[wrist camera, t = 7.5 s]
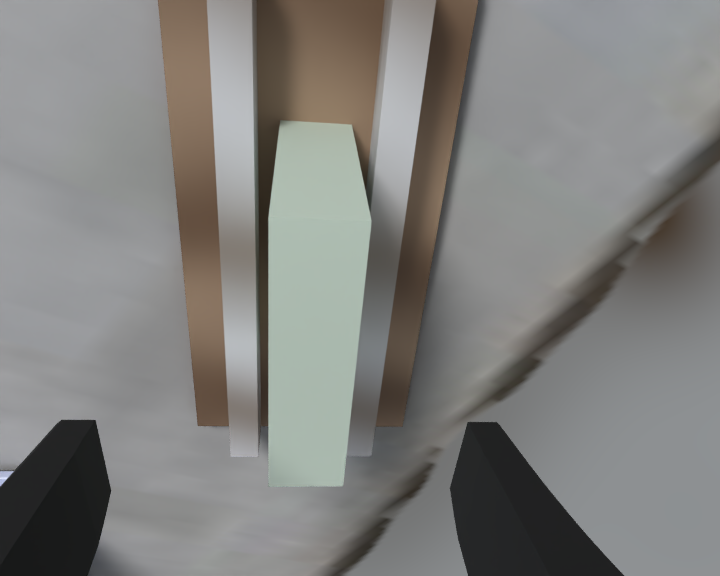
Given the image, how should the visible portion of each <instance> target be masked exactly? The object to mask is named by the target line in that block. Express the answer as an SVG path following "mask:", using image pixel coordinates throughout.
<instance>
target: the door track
mask: <svg viewBox="0 0 720 576" xmlns="http://www.w3.org/2000/svg"><path fill="white" fill-rule="evenodd" d="M477 5H478V0H158V6H159V16H160V27H161V38H162V48H163V59H164V70H165V80H166V91H167V102H168V112H169V123H170V134H171V144H172V155H173V166H174V176H175V187H176V198H177V208H178V219H179V230H180V240H181V251H182V262H183V272H184V283H185V294H186V304H187V315H188V326H189V337H190V347H191V358H192V369H193V379H194V390H195V401H196V411H197V422H198V426H229V435H230V454H231V457H258V454H259V443H260V431H261V426H268V217H269V208H270V200H271V192H272V184H273V176H274V167H275V159H276V151H277V143H278V134H279V126H280V120H285V121H302V122H318V123H334V124H350V125H352V128H353V133H354V138H355V143H356V148H357V152H358V157H359V162H360V167H361V172H362V177H363V182H364V186H365V191H366V196H367V201H368V206H369V211H370V216H371V221H372V223H371V232H370V241H369V250H368V260H367V269H366V278H365V287H364V297H363V306H362V315H361V324H360V334H359V343H358V352H357V362H356V371H355V380H354V389H353V399H352V408H351V417H350V426H349V436H348V445H347V454H346V456H371V455H372V448H373V441H374V434H375V427H402V426H403V421H404V415H405V409H406V404H407V398H408V393H409V387H410V381H411V376H412V370H413V364H414V359H415V353H416V348H417V342H418V336H419V331H420V325H421V319H422V314H423V308H424V303H425V297H426V291H427V286H428V280H429V275H430V269H431V263H432V258H433V252H434V246H435V241H436V235H437V230H438V224H439V218H440V213H441V207H442V201H443V196H444V190H445V185H446V179H447V173H448V168H449V162H450V157H451V151H452V145H453V140H454V134H455V128H456V123H457V117H458V112H459V106H460V100H461V95H462V89H463V83H464V78H465V72H466V67H467V61H468V55H469V50H470V44H471V38H472V33H473V27H474V22H475V16H476V10H477Z"/></svg>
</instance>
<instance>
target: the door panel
mask: <svg viewBox="0 0 720 576" xmlns="http://www.w3.org/2000/svg"><path fill="white" fill-rule="evenodd" d="M371 223H372V221H371V216H370V211H369V206H368V201H367V196H366V191H365V186H364V182H363V177H362V172H361V167H360V162H359V157H358V152H357V148H356V143H355V138H354V133H353V128H352V125H350V124H334V123H318V122H302V121H285V120H280V126H279V134H278V143H277V151H276V159H275V167H274V176H273V184H272V192H271V200H270V208H269V217H268V487H307V486H343V482H344V473H345V463H346V454H347V445H348V436H349V426H350V417H351V408H352V399H353V389H354V380H355V371H356V362H357V352H358V343H359V334H360V324H361V315H362V306H363V297H364V287H365V278H366V269H367V260H368V250H369V241H370V232H371Z"/></svg>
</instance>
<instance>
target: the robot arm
mask: <svg viewBox="0 0 720 576" xmlns="http://www.w3.org/2000/svg"><path fill="white" fill-rule="evenodd" d="M450 491H451V497H452V504H453V511H454V517H455V523H456V529H457V535H458V540H459V544H460V547H461V551H462V555H463V558H464V562H465V566H466V569H467V573H468V576H624V575H623V574H622V573H621V572H620V571H619V570H618V569H617V568H616V567H615V565H614V564H613V563H611V561H610V560H609V559H608V558H607V557H606V556H605V555H604V554H603V552H602V551H601V550H600V549H599V548H598V547H597V546H596V545H595V544H594V543H593V541H592V540H591V539H590V538H589V537H588V536H587V535H586V534H585V532H584V531H583V530H582V529H581V528H580V527H579V525H578V524H577V523H576V522H575V521H574V520H573V518H572V517H571V516H570V515H569V514H568V512H567V511H566V510H565V509H564V508H563V506H562V505H561V504H560V503H559V501H558V500H557V499H556V498H555V497H554V495H553V494H552V493H551V492H550V491H549V489H548V488H547V487H546V486H545V484H544V483H543V482H542V480H541V479H540V478H539V477H538V475H537V474H536V473H535V471H534V470H533V469H532V467H531V466H530V465H529V464H528V462H527V461H526V460H525V458H524V457H523V456H522V454H521V453H520V452H519V450H518V449H517V448H516V446H515V445H514V444H513V442H512V441H511V440H510V438H509V437H508V436H507V434H506V433H505V432H504V430H503V429H502V428H501V426H500V425H499V424H498V423H497V422H468V423H467V427H466V430H465V435H464V438H463V442H462V445H461V449H460V453H459V457H458V460H457V464H456V468H455V472H454V475H453V479H452V483H451V487H450ZM110 494H111V488H110V484H109V479H108V474H107V470H106V465H105V461H104V456H103V452H102V447H101V443H100V438H99V434H98V429H97V425H96V420H61V421H60V422H58V423H57V424H56V425H55V426H54V427H53V429H52V430H51V431H50V432H49V433H48V434H47V435H46V436H45V437H44V439H43V440H42V441H41V442H40V443H39V444H38V445H37V446H36V448H35V449H34V450H33V451H32V452H31V453H30V454H29V455H28V456H27V458H26V459H25V460H24V461H23V462H22V463H21V464H20V465H19V466H18V467H17V469H16V470H15V471H0V576H87V575H88V572H89V570H90V567H91V564H92V561H93V559H94V556H95V553H96V550H97V547H98V544H99V540H100V536H101V532H102V528H103V524H104V520H105V516H106V511H107V507H108V502H109V498H110Z"/></svg>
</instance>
